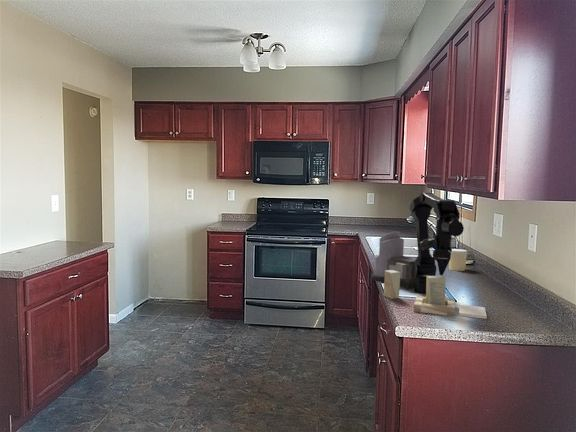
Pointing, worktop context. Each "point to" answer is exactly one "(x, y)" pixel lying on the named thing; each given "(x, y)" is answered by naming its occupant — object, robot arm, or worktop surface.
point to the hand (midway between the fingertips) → (441, 272)
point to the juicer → (394, 260)
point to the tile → (472, 311)
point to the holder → (434, 307)
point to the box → (391, 284)
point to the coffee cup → (458, 260)
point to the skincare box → (435, 290)
